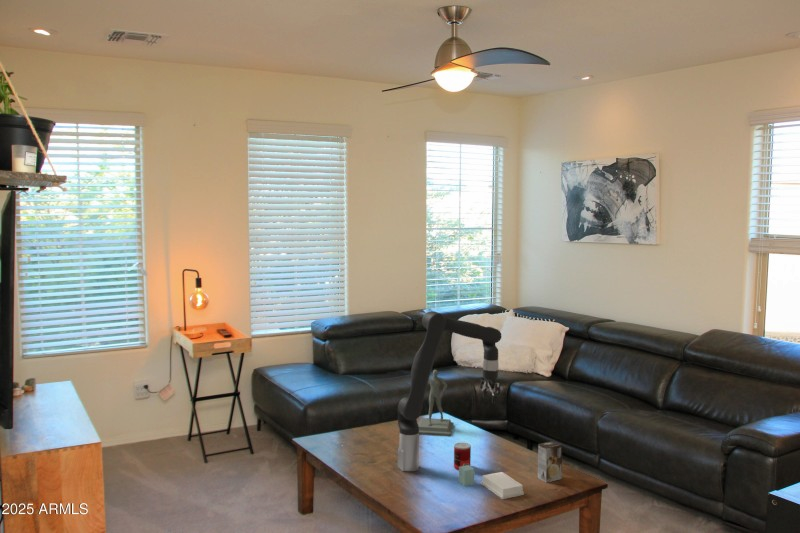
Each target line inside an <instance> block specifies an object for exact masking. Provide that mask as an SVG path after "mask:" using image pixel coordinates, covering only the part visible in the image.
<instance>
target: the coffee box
mask: <svg viewBox="0 0 800 533" xmlns="http://www.w3.org/2000/svg"><path fill="white" fill-rule="evenodd" d="M562 476H563V444H561V443H559V442H556V441H554V440H551V441H547V442H543V443H538V444H537V478H538V479H539V480H540V481H542V482H545V483H550V482H554V481H558V480H562V478H563V477H562Z"/></svg>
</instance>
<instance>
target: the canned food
mask: <svg viewBox="0 0 800 533" xmlns="http://www.w3.org/2000/svg"><path fill="white" fill-rule="evenodd" d="M471 449H472V448H471V444H470V443H467V442H461V441H460V442H456V443H454V445H453V468H454V469H455V470H456V471H459V467H461V466H466V465H469V466H471V455H472V454H471V451H472V450H471Z"/></svg>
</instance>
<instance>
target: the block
mask: <svg viewBox="0 0 800 533" xmlns="http://www.w3.org/2000/svg"><path fill="white" fill-rule="evenodd" d="M458 483H460V484H461V485H462V486H463V487H468V486H473V485H475V468H473V467H472V466H471V465H470V466H469V465H466V466H461V467H459V470H458Z"/></svg>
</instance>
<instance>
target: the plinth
mask: <svg viewBox="0 0 800 533" xmlns="http://www.w3.org/2000/svg"><path fill="white" fill-rule="evenodd" d="M480 484H481V485H482V486H483V487H484V488H486V489H488V490H489V491H490V492H492V493H493V494H495V496H497V497H498V498H500V499H501V500H505V499H511V498H515V497H516V498H517V497H519V496H524V495H525V492H524V491H523V489H524V488H523V487H524V486H523V484H521V483H520V482H518V481H516V479H513V478H512V477H511V476H509V475H508V474H506V473H505V472H503V471H500V472H495V473H493V472H492V473H490V474H489V473H488V474H483V475H482V481H481V483H480Z"/></svg>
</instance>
